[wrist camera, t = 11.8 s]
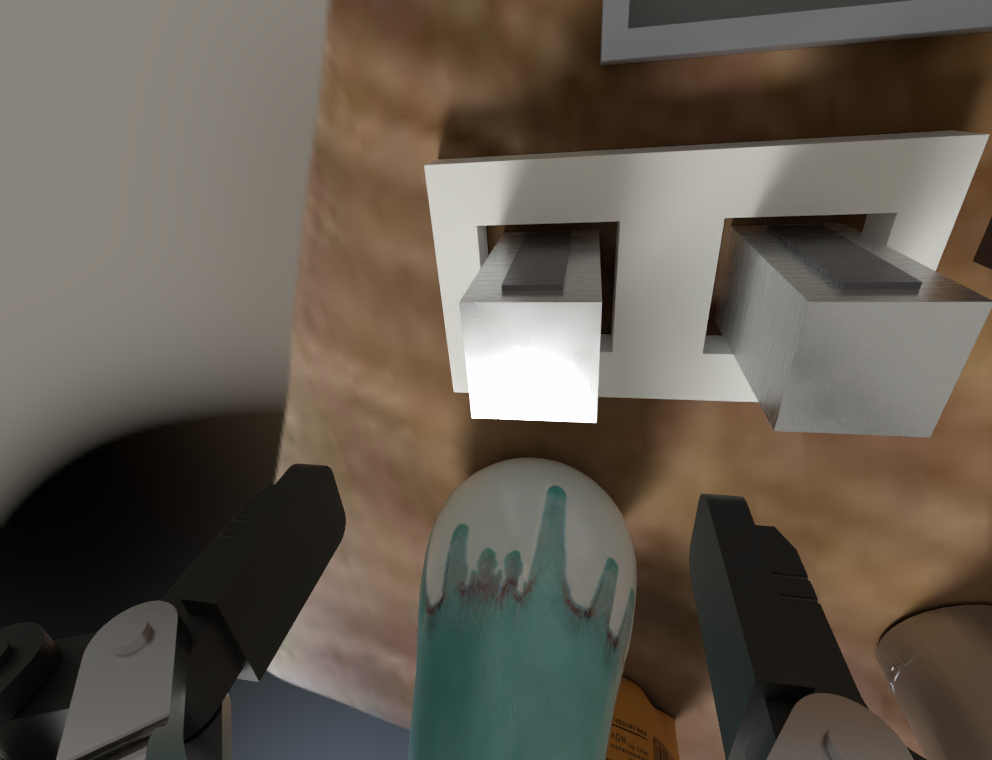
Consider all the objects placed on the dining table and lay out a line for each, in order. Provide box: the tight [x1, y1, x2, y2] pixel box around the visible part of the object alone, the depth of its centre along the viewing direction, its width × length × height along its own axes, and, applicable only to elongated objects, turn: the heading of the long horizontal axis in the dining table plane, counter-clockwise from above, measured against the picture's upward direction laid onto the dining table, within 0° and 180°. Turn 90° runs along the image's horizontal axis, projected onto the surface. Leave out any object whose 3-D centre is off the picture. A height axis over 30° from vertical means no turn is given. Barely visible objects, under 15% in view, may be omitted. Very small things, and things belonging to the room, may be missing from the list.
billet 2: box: [714, 223, 992, 437], centre depth 18 cm, size 4×5×9 cm
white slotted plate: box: [424, 130, 990, 402], centre depth 22 cm, size 20×11×2 cm, turn 94°
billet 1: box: [459, 230, 602, 423], centre depth 20 cm, size 4×5×9 cm
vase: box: [408, 457, 637, 760], centre depth 24 cm, size 12×12×18 cm
